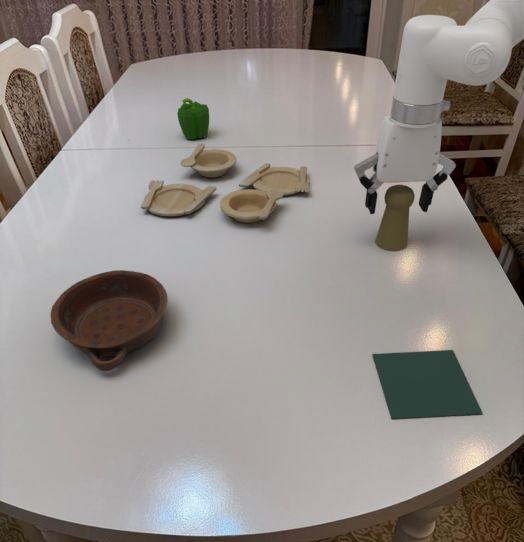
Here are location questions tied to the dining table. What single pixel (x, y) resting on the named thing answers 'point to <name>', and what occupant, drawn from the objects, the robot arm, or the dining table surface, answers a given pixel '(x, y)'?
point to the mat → (425, 385)
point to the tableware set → (235, 204)
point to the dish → (110, 314)
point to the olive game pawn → (395, 218)
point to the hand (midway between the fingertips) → (396, 209)
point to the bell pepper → (193, 119)
